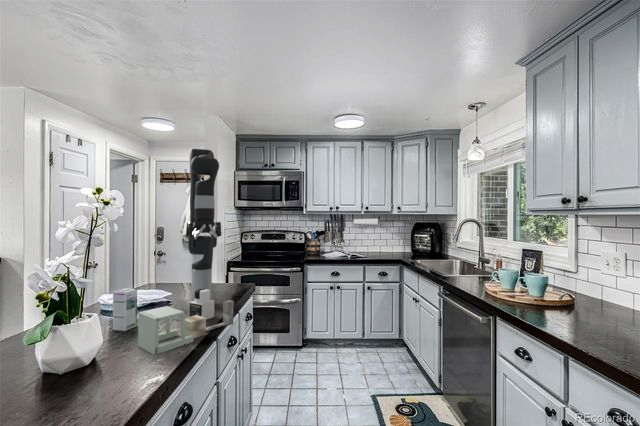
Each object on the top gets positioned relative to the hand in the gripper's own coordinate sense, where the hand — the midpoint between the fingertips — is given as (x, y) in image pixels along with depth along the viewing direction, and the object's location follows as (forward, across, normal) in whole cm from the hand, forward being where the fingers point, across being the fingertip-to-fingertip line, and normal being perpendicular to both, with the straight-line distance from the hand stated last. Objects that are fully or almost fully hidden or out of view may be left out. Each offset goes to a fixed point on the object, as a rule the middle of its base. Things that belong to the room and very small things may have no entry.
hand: (204, 248), depth 128 cm
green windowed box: (+30, +19, +8) cm, 36 cm away
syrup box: (+30, +21, -19) cm, 41 cm away
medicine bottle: (+30, -4, -7) cm, 31 cm away
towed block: (+30, +2, +8) cm, 31 cm away
